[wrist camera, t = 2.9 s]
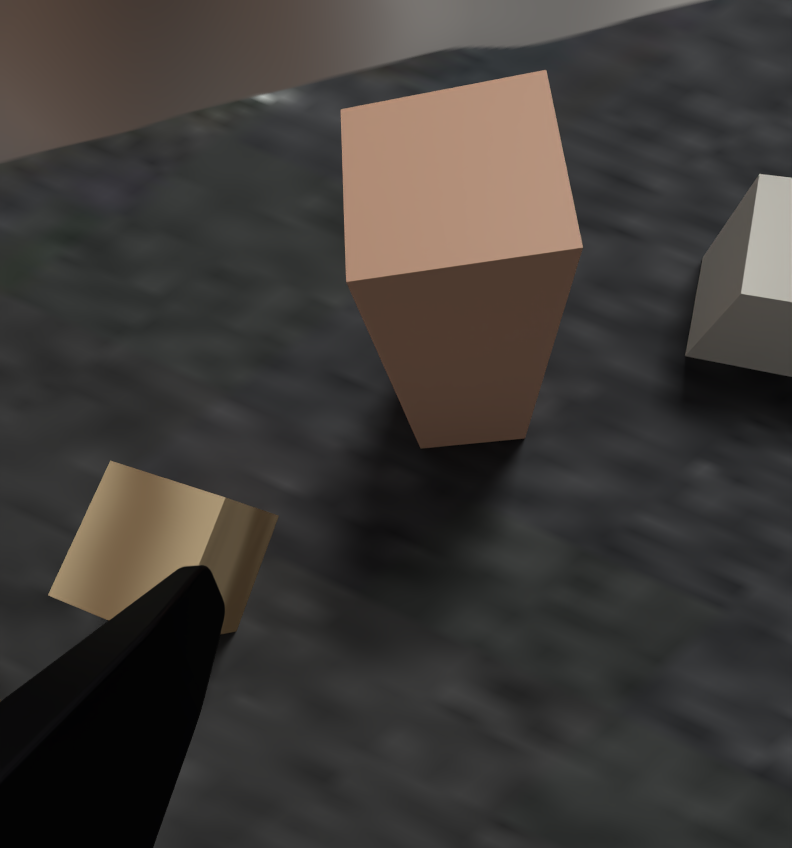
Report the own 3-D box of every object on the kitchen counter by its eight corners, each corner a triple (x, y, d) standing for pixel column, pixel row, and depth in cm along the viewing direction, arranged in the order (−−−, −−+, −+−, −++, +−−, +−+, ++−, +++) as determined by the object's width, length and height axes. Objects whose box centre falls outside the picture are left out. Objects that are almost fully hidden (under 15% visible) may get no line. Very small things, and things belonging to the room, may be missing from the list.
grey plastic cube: (828, 277, 22) (924, 192, 17) (817, 382, 20) (917, 322, 16) (702, 258, 23) (759, 174, 18) (684, 356, 22) (741, 293, 17)
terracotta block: (524, 438, 22) (582, 247, 9) (420, 448, 22) (346, 281, 10) (511, 343, 23) (545, 69, 11) (413, 355, 24) (340, 109, 11)
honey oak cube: (279, 516, 22) (225, 497, 18) (237, 631, 21) (167, 644, 16) (184, 485, 24) (110, 460, 19) (139, 592, 22) (48, 595, 18)
